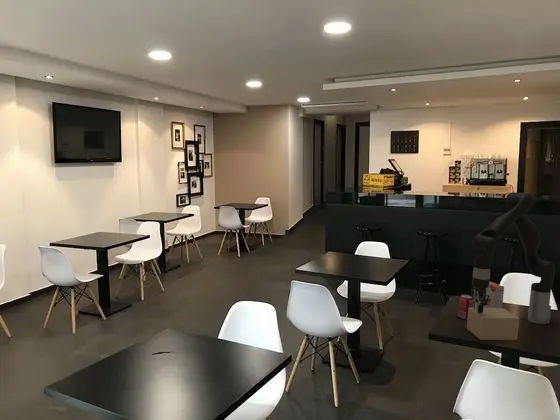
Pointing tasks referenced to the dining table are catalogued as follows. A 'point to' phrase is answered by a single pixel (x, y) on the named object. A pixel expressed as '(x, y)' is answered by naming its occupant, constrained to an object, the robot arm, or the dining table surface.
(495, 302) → the cracker box
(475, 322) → the carton
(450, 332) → the dining table surface
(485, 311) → the lid flap
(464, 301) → the soda can
